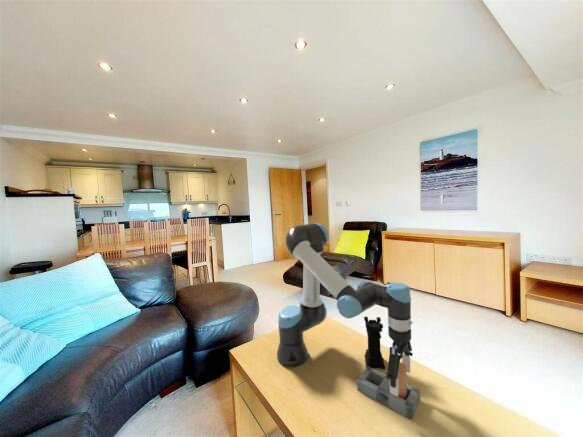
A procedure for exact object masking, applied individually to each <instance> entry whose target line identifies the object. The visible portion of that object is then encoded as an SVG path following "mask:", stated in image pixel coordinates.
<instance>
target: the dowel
mask: <svg viewBox="0 0 583 437" xmlns="http://www.w3.org/2000/svg"><path fill="white" fill-rule="evenodd" d="M407 374H408V372H407V371H406V365H405V364H403V363H402V362H401V361H400V364H399V370H398V375H397V377H398V388H399V396H398V397H400V398H402V399H404V400H406V401H407V384H408V381H407V379H408V378H407V376H408V375H407Z"/></svg>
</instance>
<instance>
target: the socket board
mask: <svg viewBox="0 0 583 437" xmlns="http://www.w3.org/2000/svg"><path fill="white" fill-rule="evenodd" d="M372 382H374V383H375V384H374V383H372ZM376 384H377V385H376ZM356 387H357V388H356V390H357V391H359V392H361V393H363V394H364V395H366V396H368V397H369V398H372V399H374V400H375V401H377V402H380V403H381V404H382V405H385V406H387V407H388V408H390V409H392V410H394V411H396V412H398V413H399V414H401V415H402V416H405V417H407V419H411V420H412V419H413V417H414V416H415V413H416V410H417V407H418V406H419V405H418V404H419V402H420V399H421V398H420V395H421V394H420V389H419V388H416V387H415V386H412V385H410V384H408V383H407V401H406V400H404V399H402V398H400V397H398V396H396V395H394V394H392V393H390V379H389V378H387V375H386V373H384V372H381V370H380V371H379V370H378V369H373V368H371V367H369V366H368V367H367V368H365V369H364V371H363V372H362V373H361V375H360V376H359V377H358V378H357V380H356Z"/></svg>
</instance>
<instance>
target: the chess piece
mask: <svg viewBox="0 0 583 437" xmlns="http://www.w3.org/2000/svg"><path fill="white" fill-rule="evenodd" d="M363 320H364V322H365V329H366V330H365V331H366V335H367V349H365V352H364V353H365V354H364V362H365V367H366V368H367V367H368V366H369V367H371V368H373V369H375V370H386V365H385V363H384V362H385V361H384V359H383V355H382V351H381V339H382V335H381V333H382V332H383V328H384V324H383V323H382V322H381V320H382V319H381V317H380V316H377V317H376V319H369V317H368V316H363ZM366 368H365V369H366Z"/></svg>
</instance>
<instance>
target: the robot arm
mask: <svg viewBox="0 0 583 437" xmlns="http://www.w3.org/2000/svg"><path fill="white" fill-rule="evenodd" d="M329 238H330V236H329V231H328V230H327V228H326V227H325V225H324V224H321V223H318V222H312V223H306V224H301V225H295V226H293V227H291V228H290V229H289V230H288V231H287V233H286V236H285V246H286V248H287V250H288V252H289V253H290V255H291V256H292V257H294V258H295V259H299V261H300V262H301V263H302V264H303V267H302V268H303V270H302V273H303V276H302V283H303V284H302V297H301V298H300V300H299V305H291V306H290V305H289V306H286V307H284V308H282V309H281V310H280V311H279V314H278V319H277V320H278V321H277V323H278V332H279V333H278V335H279V343H278V349H277V351H276V352H277V353H276V357H277V358H276V359H277V362H278V363H279V364H280V365H282V366H285V367H287V368H288V367H289V368H290V367H298V366H299V367H300V366H301V365H303V364H304V363H305V362H306V361H307V360H308V356H309V355H308V354H309V353H308V352H309V351H308V348H307V346H306V344H305V341H304V333H305V332H306V331H309V330H311V329H312V328H314V327H316V326H318V325H320V324H321V323H323V322H324V321H325V320H326V318H327V314H328V313H327V312H328V311H327V307H326V304H325V303H324V301H323V300H322V298H321V297H320V292H321V291H320V287H321V285H322V286H323V287H324V288H325V289H326V290H327V291H328V292H329V294H330V295H332V297H333V298H334V299H335V300H336V309H337V310H338V313H339V314H340V315H341V316H342V317H344V318H345V319H352V318H355V317H358V316H359V315H361V314H362V313H363V312H365V311H367V310H369V309H370V308H373V307H374V306H375V305H377V306H380V307H382V308H386V309H387V324H388V327H387V329H388V332H387V334H388V336H389V338H390V339H391V340H392V344H391V346H389V356H388V364H387V369H386V370H387V371H386V373H385V374H386V375H387V378H389V379H390V393H392V394H394V395H396V396H399V388H398V377H397V375H398V370H399V364H400V362H401V361H402V362H401V363H403V364H405V365H406V371H407V374H411V357H413V355H414V354H413V352H412V351H413V348H412V344H411V340H412V325H413V321H412V320H411V319H412V316H411V314H412V311H411V308H412V307H411V306H412V305H411V303H412V302H411V301H412V297H411V289H410V287H409V286H408V285H407V284H405V283H402V282H391V283H388V284H387V286H385V285H382V284H377V283H374V282H373V281H365V280H364V281H360V282H359V284H358V285H357V287H356V289H355V288H354V287H353V286H351V284H350V283H349V282H348V281H346V280H345V279H344V277H343V276H341V275H340V274H339V273H338V272H337V270H335V268H333V267H332V266H331V265H330V264H329V263H328V262H327V260H325V259H324V257H322V256H321V254H322V253H323V252H324V246H325V245H326V244H327V243H328V241H329Z"/></svg>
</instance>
